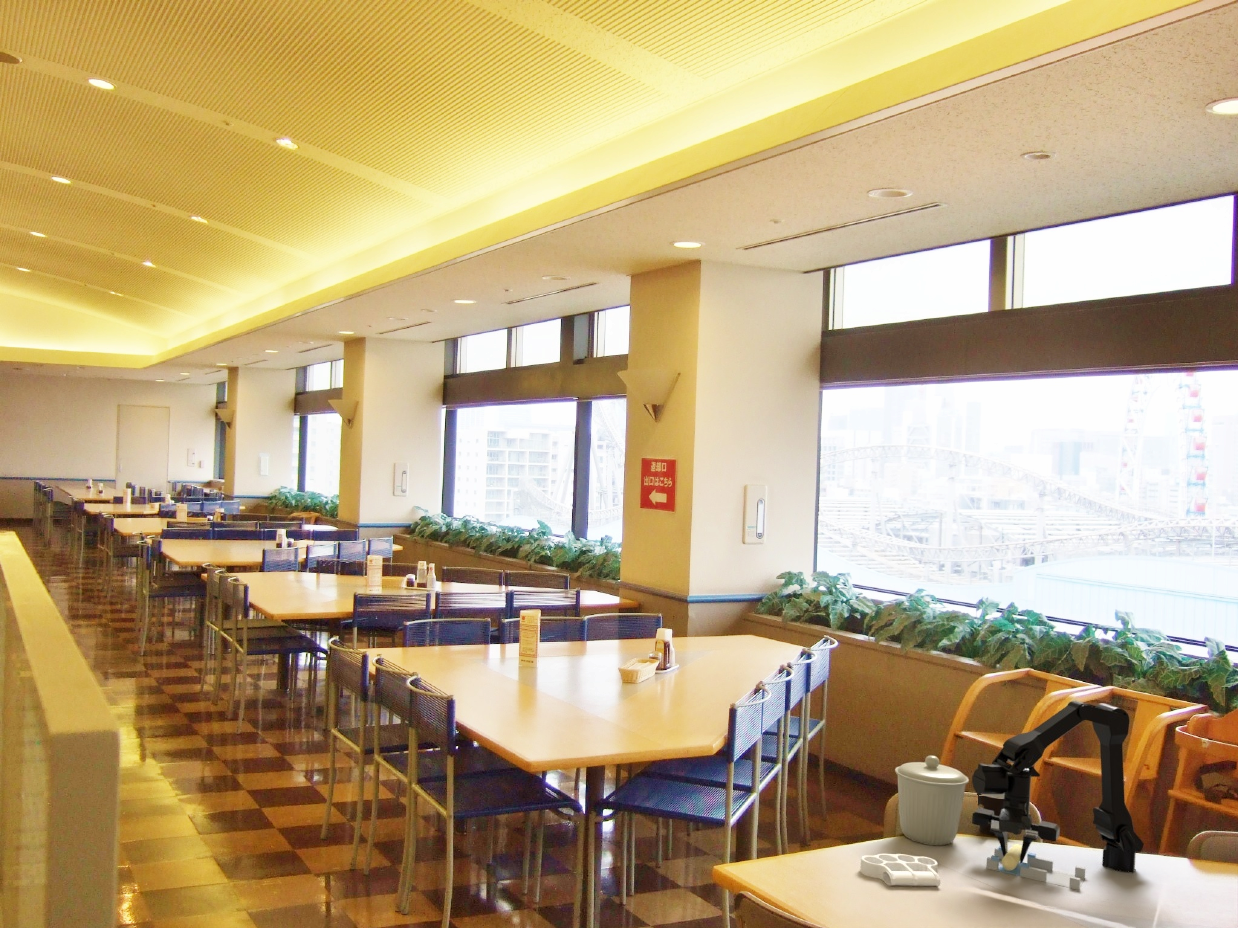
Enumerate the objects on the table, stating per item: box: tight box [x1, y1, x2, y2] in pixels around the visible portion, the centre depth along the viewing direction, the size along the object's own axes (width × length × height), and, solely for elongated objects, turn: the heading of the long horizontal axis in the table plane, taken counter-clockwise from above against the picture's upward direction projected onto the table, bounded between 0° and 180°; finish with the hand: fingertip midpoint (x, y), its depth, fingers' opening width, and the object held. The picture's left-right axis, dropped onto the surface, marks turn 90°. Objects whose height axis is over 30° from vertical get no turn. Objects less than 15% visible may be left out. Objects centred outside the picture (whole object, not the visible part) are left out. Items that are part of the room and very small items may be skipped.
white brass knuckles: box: [859, 853, 941, 887], centre depth 236 cm, size 3×18×15 cm
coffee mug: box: [976, 792, 1004, 837], centre depth 276 cm, size 12×9×10 cm
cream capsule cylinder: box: [1002, 843, 1022, 870], centre depth 243 cm, size 13×3×3 cm, turn 149°
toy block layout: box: [985, 845, 1086, 891], centre depth 241 cm, size 20×10×4 cm, turn 59°
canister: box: [894, 755, 970, 846], centre depth 265 cm, size 18×18×21 cm
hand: (1013, 860), depth 244 cm, fingers closed on cream capsule cylinder, 3 cm apart
